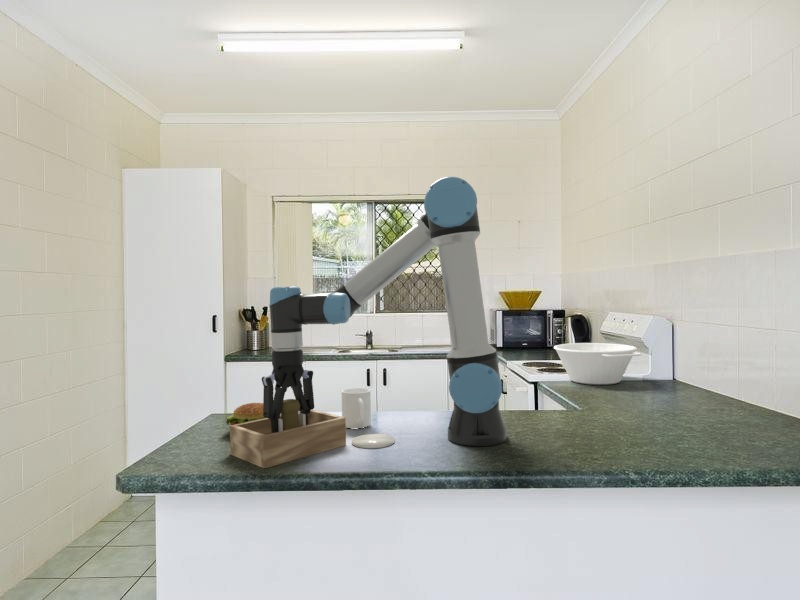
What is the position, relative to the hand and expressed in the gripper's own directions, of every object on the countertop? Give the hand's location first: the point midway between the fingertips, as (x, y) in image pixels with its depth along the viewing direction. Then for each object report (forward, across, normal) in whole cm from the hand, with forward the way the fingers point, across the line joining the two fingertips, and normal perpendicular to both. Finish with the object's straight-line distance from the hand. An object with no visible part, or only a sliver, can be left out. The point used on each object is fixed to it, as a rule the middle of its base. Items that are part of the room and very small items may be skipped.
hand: (290, 442), depth 132 cm
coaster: (+2, -18, +11) cm, 21 cm away
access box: (+2, 0, 0) cm, 2 cm away
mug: (+2, -25, -3) cm, 25 cm away
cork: (+1, 0, 0) cm, 1 cm away
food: (+2, -3, -23) cm, 24 cm away
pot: (+3, -136, +16) cm, 137 cm away
